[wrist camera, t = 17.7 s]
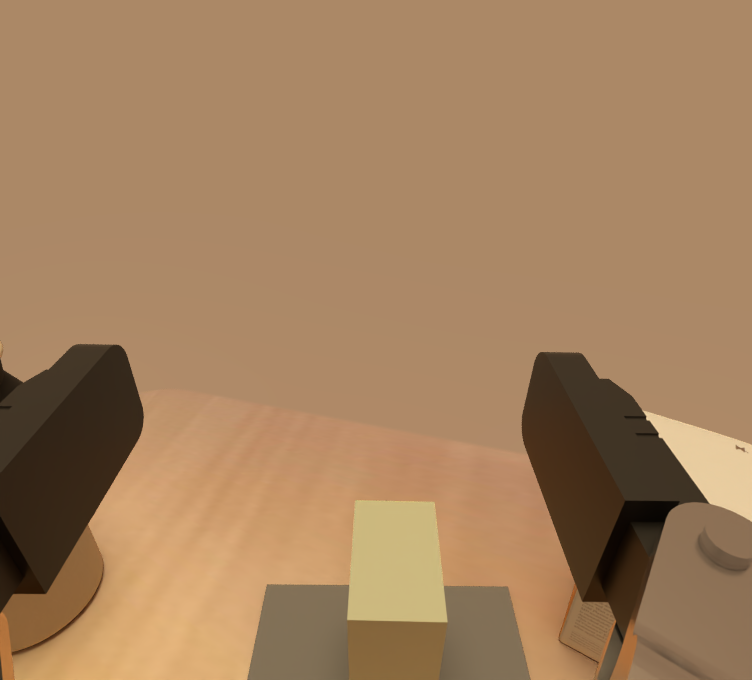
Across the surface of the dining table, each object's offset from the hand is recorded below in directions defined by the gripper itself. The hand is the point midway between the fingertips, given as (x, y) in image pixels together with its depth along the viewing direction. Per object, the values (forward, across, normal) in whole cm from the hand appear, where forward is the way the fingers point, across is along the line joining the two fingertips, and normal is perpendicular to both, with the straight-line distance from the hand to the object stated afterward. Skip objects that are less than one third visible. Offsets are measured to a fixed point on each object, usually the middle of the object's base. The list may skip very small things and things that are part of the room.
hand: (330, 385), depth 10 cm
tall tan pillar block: (+6, -2, +25) cm, 26 cm away
